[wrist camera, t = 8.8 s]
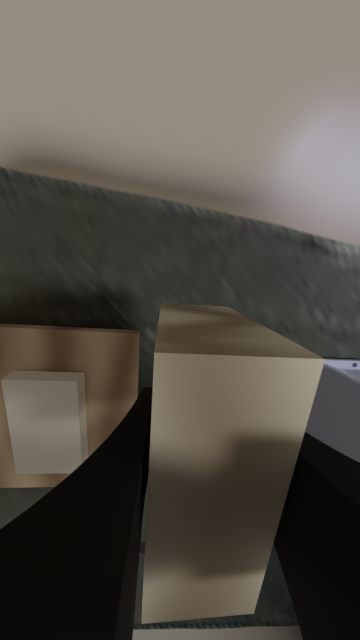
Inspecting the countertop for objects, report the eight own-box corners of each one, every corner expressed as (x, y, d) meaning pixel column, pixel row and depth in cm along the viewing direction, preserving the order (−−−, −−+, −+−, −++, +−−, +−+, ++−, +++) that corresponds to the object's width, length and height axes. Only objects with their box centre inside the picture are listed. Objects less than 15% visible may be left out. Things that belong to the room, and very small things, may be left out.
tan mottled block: (228, 307, 11) (324, 359, 4) (209, 443, 14) (253, 613, 7) (161, 302, 11) (154, 352, 4) (153, 443, 13) (141, 623, 6)
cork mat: (139, 330, 18) (138, 333, 17) (135, 475, 22) (134, 484, 21) (-44, 321, 17) (-57, 324, 16) (-11, 478, 21) (-20, 488, 20)
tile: (77, 381, 16) (0, 379, 15) (82, 473, 18) (16, 474, 18) (85, 371, 18) (16, 369, 17) (89, 456, 20) (28, 457, 19)
